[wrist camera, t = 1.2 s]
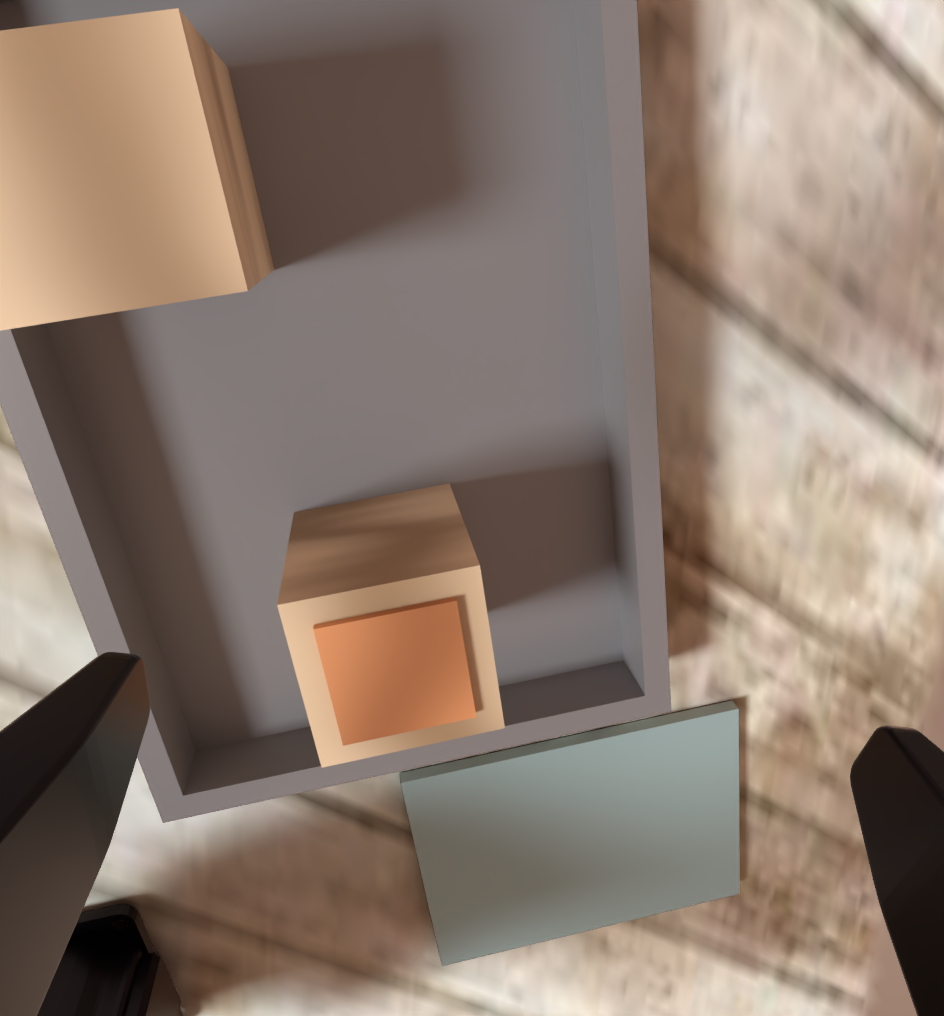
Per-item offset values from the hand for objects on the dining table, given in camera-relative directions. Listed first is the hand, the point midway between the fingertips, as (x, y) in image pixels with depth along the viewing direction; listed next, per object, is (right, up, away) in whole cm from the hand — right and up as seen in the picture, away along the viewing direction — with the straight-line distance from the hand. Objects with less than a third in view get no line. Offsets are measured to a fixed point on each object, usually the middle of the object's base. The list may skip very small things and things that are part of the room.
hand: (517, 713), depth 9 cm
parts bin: (-4, +5, +12) cm, 14 cm away
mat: (+3, -10, +19) cm, 22 cm away
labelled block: (-3, +1, +13) cm, 14 cm away
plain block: (-8, +10, +9) cm, 16 cm away
